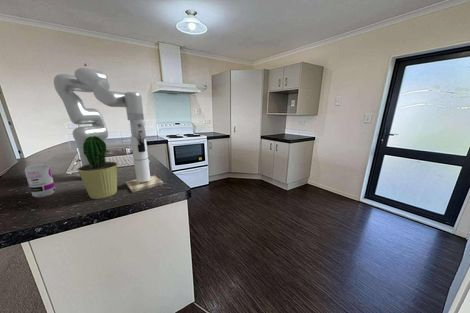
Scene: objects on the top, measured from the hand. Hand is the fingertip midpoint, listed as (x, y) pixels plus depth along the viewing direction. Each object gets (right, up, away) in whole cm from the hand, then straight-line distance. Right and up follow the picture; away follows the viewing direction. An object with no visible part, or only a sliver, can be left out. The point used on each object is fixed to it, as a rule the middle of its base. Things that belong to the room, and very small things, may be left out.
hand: (139, 150), depth 96 cm
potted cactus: (-15, -23, -7) cm, 28 cm away
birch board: (0, -19, +5) cm, 20 cm away
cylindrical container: (0, -17, +4) cm, 17 cm away
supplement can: (-44, -23, -8) cm, 50 cm away
